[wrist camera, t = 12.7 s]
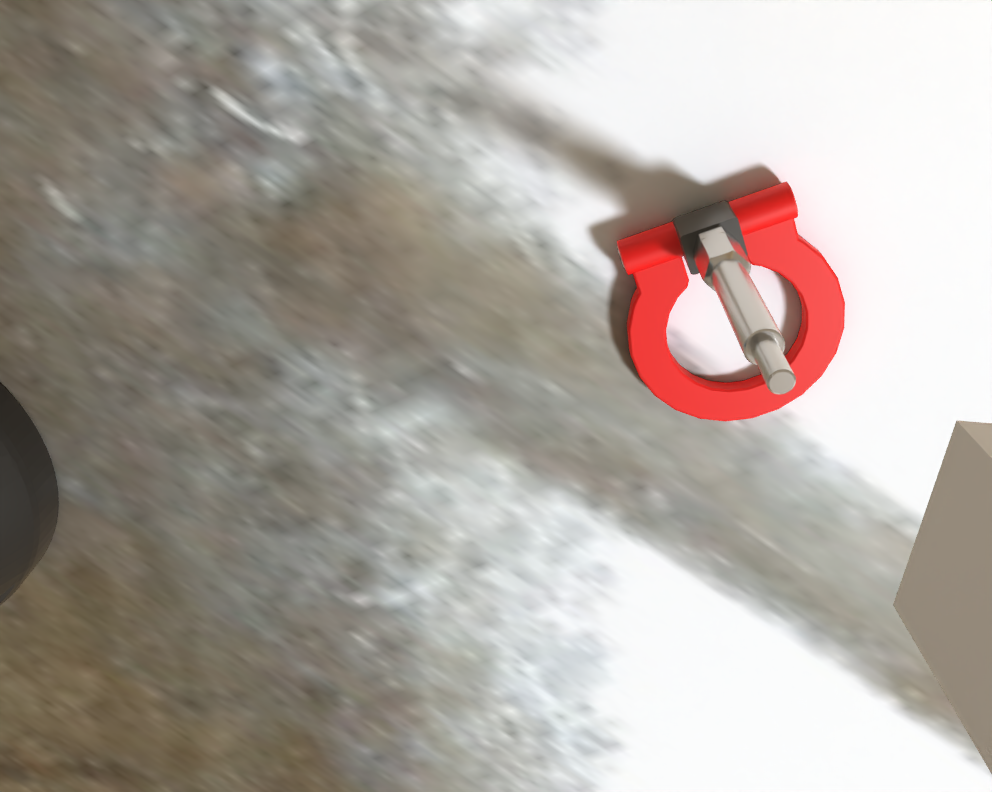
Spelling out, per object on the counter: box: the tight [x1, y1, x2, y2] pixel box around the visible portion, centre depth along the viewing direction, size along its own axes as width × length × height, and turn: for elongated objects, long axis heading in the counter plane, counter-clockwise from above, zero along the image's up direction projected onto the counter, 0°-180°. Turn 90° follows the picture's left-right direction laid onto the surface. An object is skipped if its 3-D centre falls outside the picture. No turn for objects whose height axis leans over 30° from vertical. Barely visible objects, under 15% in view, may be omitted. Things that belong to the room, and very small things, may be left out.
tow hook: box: [617, 182, 845, 421], centre depth 33 cm, size 8×13×9 cm
